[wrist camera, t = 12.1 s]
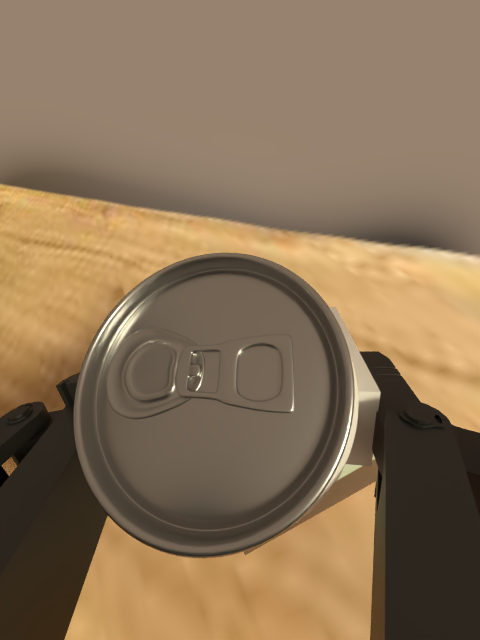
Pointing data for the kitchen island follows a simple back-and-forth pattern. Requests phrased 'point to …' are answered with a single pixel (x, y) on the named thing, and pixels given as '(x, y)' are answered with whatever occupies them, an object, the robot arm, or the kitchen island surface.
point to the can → (215, 406)
